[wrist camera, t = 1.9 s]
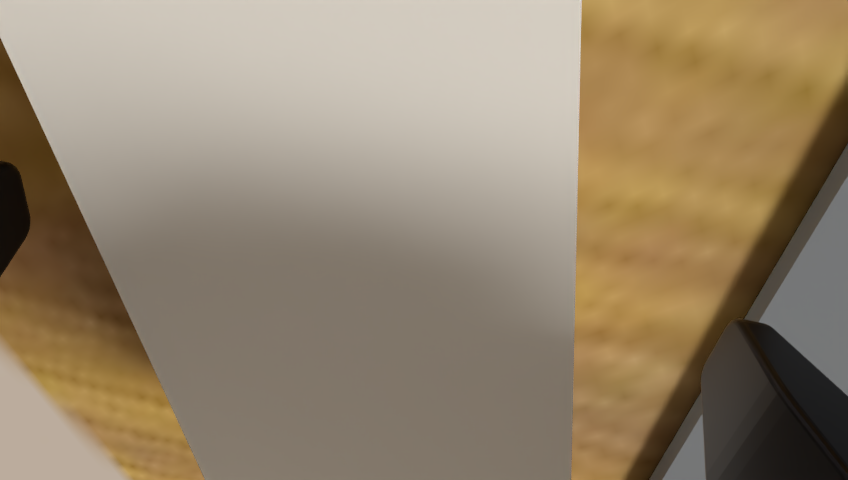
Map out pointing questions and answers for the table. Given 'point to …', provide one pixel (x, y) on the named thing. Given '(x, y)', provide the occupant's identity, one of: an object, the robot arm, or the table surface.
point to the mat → (793, 310)
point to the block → (331, 220)
